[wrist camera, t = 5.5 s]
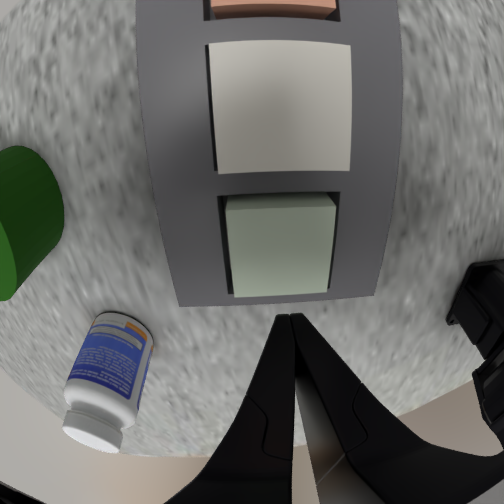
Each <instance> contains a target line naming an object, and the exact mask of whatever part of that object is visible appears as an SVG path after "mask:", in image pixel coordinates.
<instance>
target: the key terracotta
mask: <svg viewBox="0 0 504 504" xmlns="http://www.w3.org/2000/svg"><path fill="white" fill-rule="evenodd" d="M211 7H212V10H213V12H214V15H215V17H216V19H217V20H221V19H233V18H253V17H286V18H305V19H317V20H323V19H325V18H326V17H327V16H328V15H329V14H330V13H331V12H332V11H334V10H335V9H336V2H335V0H211Z"/></svg>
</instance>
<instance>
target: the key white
mask: <svg viewBox="0 0 504 504" xmlns="http://www.w3.org/2000/svg"><path fill="white" fill-rule="evenodd" d="M209 56H210V72H211V88H212V102H213V116H214V129H215V141H216V153H217V164H218V174H229V173H246V172H268V171H349V169H350V152H351V124H352V74H351V48H350V45H343V44H334V43H325V42H313V41H296V40H249V41H232V42H220V43H210V44H209Z"/></svg>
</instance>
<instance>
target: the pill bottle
mask: <svg viewBox="0 0 504 504" xmlns="http://www.w3.org/2000/svg"><path fill="white" fill-rule="evenodd" d="M152 352H153V340H152V337H151V335H150V333H149V332H148V331H147V329H146V328H145V327H144V326H143V325H141V324H140V323H139V322H137V321H136V320H134V319H132V318H130V317H128V316H125V315H122V314H118V313H104V314H101V315H99V316H98V317H97V318H96V319H95V320H94V322H93V324H92V326H91V328H90V330H89V332H88V334H87V336H86V338H85V341H84V343H83V345H82V347H81V349H80V352H79V354H78V356H77V358H76V361H75V363H74V365H73V368H72V370H71V372H70V375H69V377H68V380H67V382H66V385H65V387H64V397H65V399H66V401H67V403H68V404H69V406H70V407H71V410H68V411H67V413H66V416H65V419H64V423H63V426H62V428H63V430H64V432H65V433H66V434H67V435H69V436H70V437H71V438H73V439H75V440H76V441H78V442H80V443H82V444H84V445H86V446H88V447H91V448H94V449H97V450H100V451H103V452H108V453H118V452H119V450H120V447H121V443H122V439H123V437H122V436H123V435H122V432H121V431H120V429H124V428H128V427H130V426H132V425H133V424H134V423H135V421H136V418H137V414H138V410H139V405H140V400H141V396H142V392H143V387H144V383H145V379H146V375H147V370H148V367H149V363H150V359H151V355H152Z"/></svg>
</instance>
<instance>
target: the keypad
mask: <svg viewBox="0 0 504 504" xmlns="http://www.w3.org/2000/svg"><path fill="white" fill-rule="evenodd" d="M335 2H336V9H335V10H334V11H332V12H331V13H330V14H329V15H328V16H327V17H326V18H325V19H323V20H317V19H305V18H286V17H253V18H233V19H221V20H217V19H216V17H215V15H214V12H213V10H212V7H211V0H136V47H137V66H138V80H139V92H140V102H141V112H142V121H143V129H144V137H145V144H146V151H147V158H148V164H149V170H150V176H151V182H152V188H153V194H154V199H155V204H156V209H157V215H158V219H159V224H160V229H161V234H162V238H163V243H164V247H165V252H166V256H167V260H168V264H169V268H170V273H171V277H172V280H173V284H174V288H175V292H176V296H177V299H178V303H179V307H193V306H231V305H256V304H275V303H291V302H306V301H319V300H332V299H343V298H354V297H364V296H373V295H374V292H375V289H376V285H377V281H378V277H379V273H380V269H381V264H382V260H383V256H384V251H385V246H386V241H387V236H388V231H389V226H390V220H391V214H392V208H393V202H394V195H395V188H396V181H397V173H398V163H399V153H400V141H401V126H402V99H403V74H402V49H401V34H400V24H399V15H398V7H397V0H335ZM249 40H296V41H313V42H325V43H334V44H343V45H350V48H351V74H352V124H351V152H350V169H349V171H268V172H246V173H229V174H218V164H217V153H216V141H215V129H214V116H213V102H212V88H211V72H210V56H209V44H210V43H220V42H232V41H249ZM280 192H326V193H327V195H328V196H329V197H330V199H331V200H332V201H333V203H334V204H335V205H336V215H335V226H334V236H333V245H332V254H331V262H330V270H329V278H328V285H327V292H322V293H309V294H294V295H277V296H258V297H234V288H233V279H232V270H231V261H230V251H229V241H228V231H227V221H226V205H227V199H228V195H237V194H256V193H280Z"/></svg>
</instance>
